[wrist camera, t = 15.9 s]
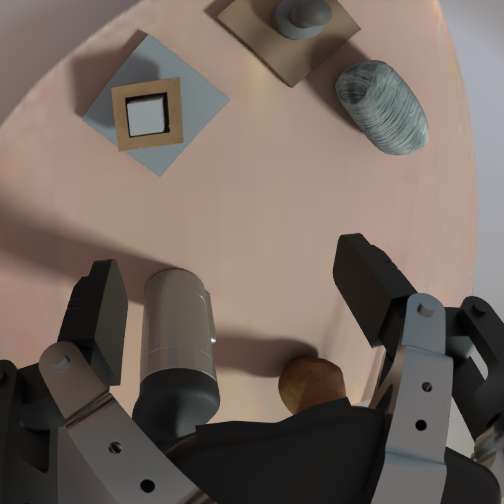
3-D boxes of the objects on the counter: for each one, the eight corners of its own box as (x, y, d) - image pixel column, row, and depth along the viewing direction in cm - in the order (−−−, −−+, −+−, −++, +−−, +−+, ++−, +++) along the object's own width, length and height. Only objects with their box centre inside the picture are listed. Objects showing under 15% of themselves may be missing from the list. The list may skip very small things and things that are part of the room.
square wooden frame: (180, 76, 27) (179, 78, 25) (183, 135, 31) (183, 143, 28) (117, 85, 26) (111, 87, 24) (124, 143, 30) (118, 151, 27)
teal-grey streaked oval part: (310, 93, 31) (393, 96, 24) (341, 46, 32) (415, 44, 25) (356, 165, 41) (422, 179, 34) (378, 117, 42) (439, 125, 35)
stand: (355, 29, 30) (394, 27, 23) (288, 86, 33) (315, 95, 26) (289, -40, 24) (317, -61, 17) (214, 18, 27) (223, 5, 20)
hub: (228, 98, 33) (240, 109, 26) (160, 172, 36) (155, 202, 30) (150, 35, 27) (139, 27, 20) (84, 116, 30) (59, 134, 23)
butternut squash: (266, 382, 67) (295, 482, 47) (279, 345, 60) (317, 461, 40) (322, 375, 71) (358, 465, 50) (341, 339, 63) (389, 440, 43)
